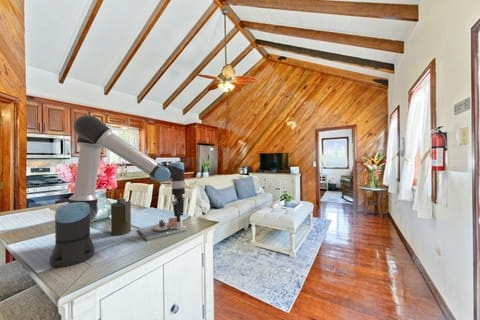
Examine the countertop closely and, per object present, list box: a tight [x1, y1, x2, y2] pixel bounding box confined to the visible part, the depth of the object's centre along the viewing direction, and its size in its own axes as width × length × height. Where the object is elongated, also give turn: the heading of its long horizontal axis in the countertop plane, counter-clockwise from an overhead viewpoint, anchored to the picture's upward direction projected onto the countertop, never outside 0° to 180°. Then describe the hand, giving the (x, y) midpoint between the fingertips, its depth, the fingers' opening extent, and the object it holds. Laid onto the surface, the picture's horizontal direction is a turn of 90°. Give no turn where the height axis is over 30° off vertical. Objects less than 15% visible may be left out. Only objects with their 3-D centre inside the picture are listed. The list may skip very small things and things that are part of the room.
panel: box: [137, 221, 187, 242], centre depth 120 cm, size 24×20×2 cm
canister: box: [110, 197, 132, 237], centre depth 117 cm, size 11×10×20 cm
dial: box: [152, 217, 177, 232], centre depth 120 cm, size 15×10×6 cm, turn 103°
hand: (179, 226), depth 119 cm, fingers closed
